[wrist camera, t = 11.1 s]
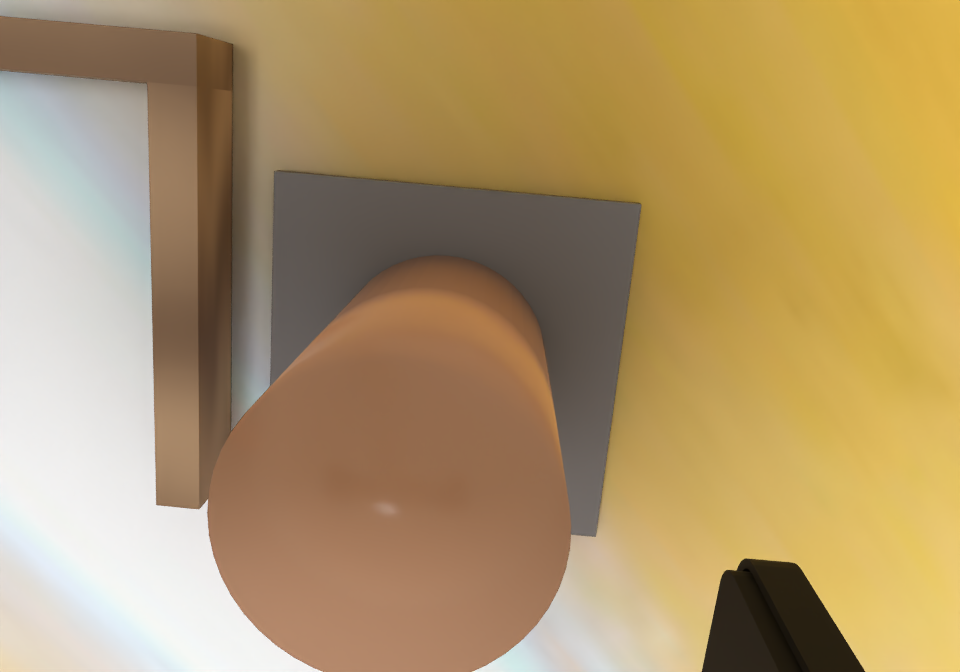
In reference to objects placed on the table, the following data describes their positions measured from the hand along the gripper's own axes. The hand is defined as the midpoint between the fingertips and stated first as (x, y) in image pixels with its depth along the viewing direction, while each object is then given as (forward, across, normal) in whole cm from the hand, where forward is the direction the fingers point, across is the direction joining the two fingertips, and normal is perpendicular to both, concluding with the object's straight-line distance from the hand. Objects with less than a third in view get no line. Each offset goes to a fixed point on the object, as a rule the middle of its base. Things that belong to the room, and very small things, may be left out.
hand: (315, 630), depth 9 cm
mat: (+14, -1, +2) cm, 14 cm away
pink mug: (+14, -1, +3) cm, 14 cm away
